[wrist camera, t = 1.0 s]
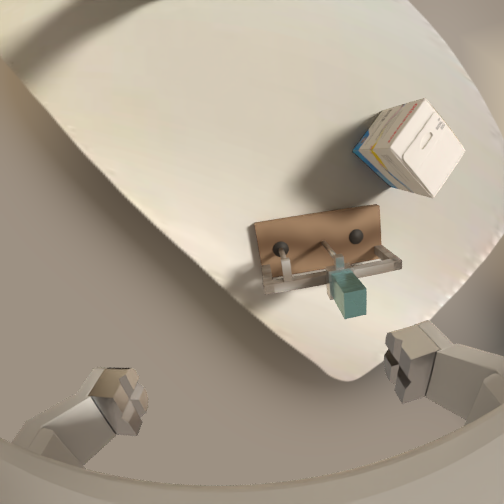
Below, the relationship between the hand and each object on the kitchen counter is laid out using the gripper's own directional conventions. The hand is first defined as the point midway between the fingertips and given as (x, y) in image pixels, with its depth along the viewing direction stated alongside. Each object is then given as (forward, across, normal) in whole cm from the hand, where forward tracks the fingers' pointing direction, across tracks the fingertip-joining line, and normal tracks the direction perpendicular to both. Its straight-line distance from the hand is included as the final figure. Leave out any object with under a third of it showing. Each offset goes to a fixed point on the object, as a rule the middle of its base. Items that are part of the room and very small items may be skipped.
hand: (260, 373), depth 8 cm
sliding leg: (+31, -9, +7) cm, 33 cm away
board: (+33, -9, +6) cm, 34 cm away
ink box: (+33, -21, -6) cm, 39 cm away
